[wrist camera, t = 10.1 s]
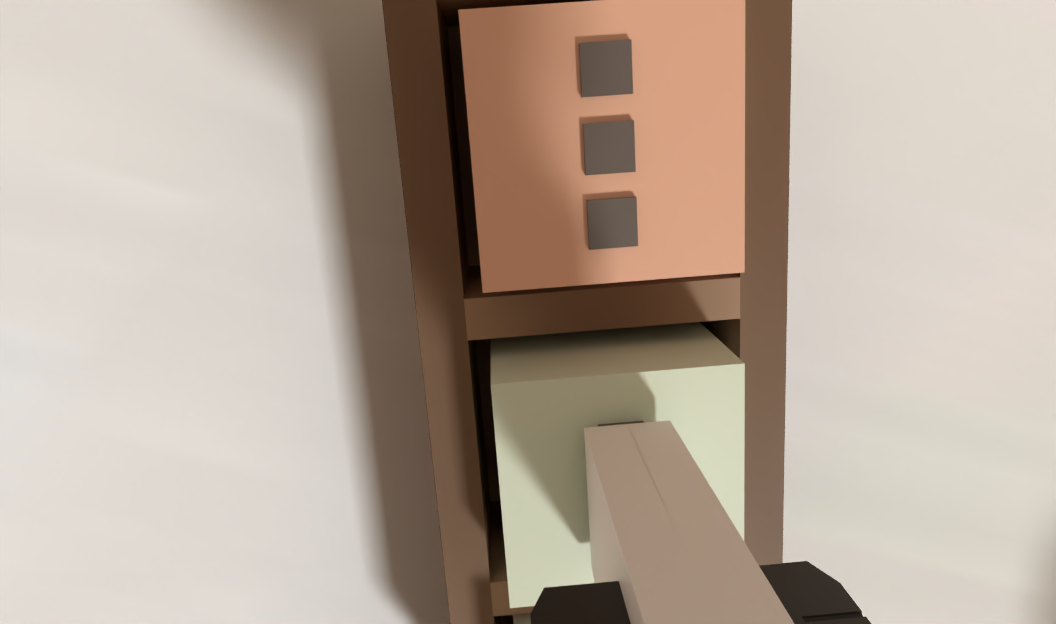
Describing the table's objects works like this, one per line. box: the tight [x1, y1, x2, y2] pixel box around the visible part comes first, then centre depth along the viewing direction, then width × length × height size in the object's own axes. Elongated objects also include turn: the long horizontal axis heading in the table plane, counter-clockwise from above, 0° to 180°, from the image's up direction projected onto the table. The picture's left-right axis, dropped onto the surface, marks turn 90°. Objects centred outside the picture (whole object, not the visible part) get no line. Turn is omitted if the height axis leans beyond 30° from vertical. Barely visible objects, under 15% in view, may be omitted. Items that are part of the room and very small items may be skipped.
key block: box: [382, 0, 792, 624], centre depth 16 cm, size 7×18×4 cm, turn 4°
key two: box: [491, 322, 745, 608], centre depth 15 cm, size 4×4×5 cm
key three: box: [458, 0, 745, 293], centre depth 14 cm, size 4×4×5 cm
